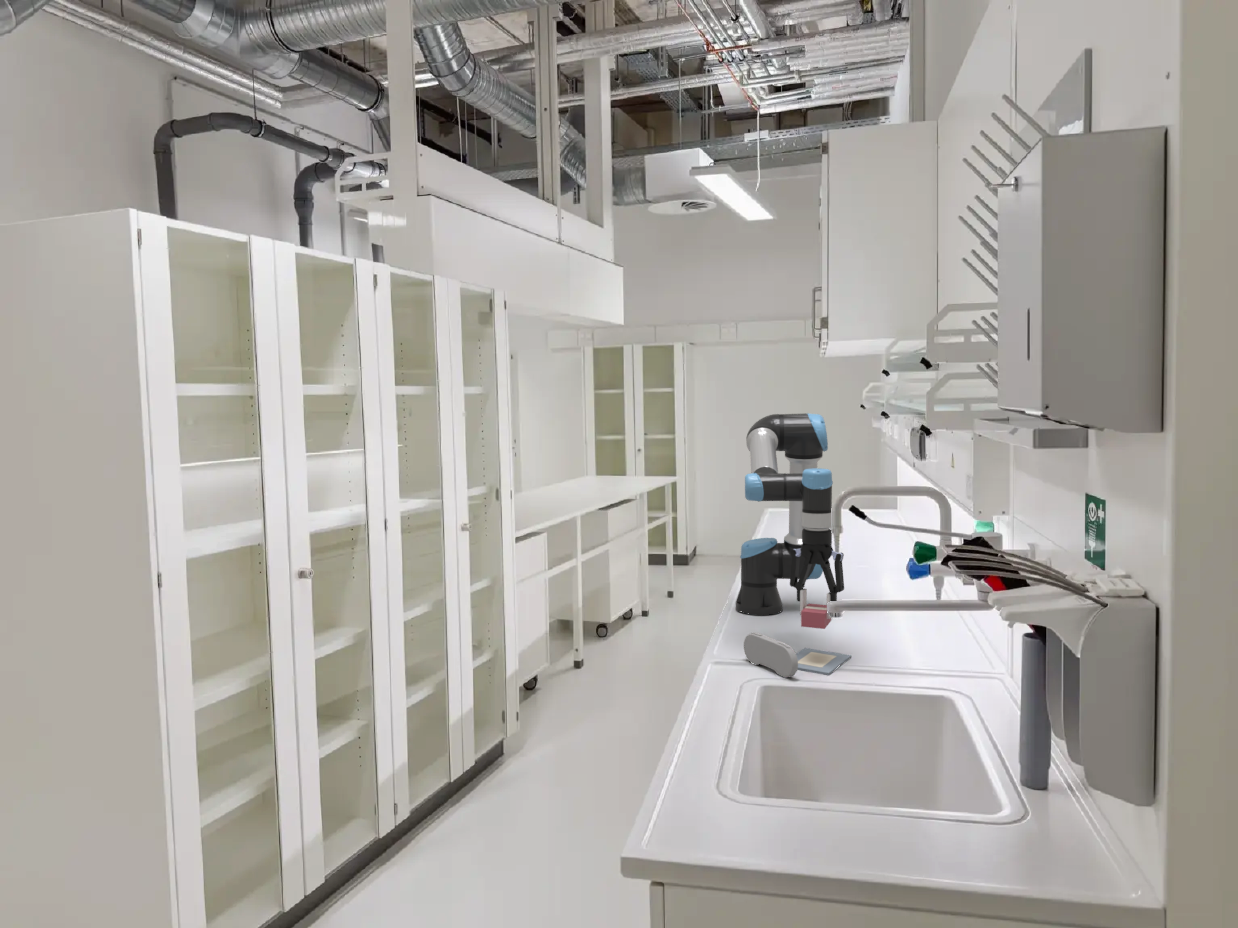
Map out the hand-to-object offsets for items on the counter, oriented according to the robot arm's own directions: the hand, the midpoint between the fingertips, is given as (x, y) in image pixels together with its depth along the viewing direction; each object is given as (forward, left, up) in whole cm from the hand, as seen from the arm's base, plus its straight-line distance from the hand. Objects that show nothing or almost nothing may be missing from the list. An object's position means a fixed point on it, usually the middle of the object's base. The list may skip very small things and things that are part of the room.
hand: (816, 615), depth 216 cm
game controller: (+12, -8, -13) cm, 19 cm away
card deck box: (0, 0, -2) cm, 2 cm away
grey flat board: (0, 0, -12) cm, 12 cm away
